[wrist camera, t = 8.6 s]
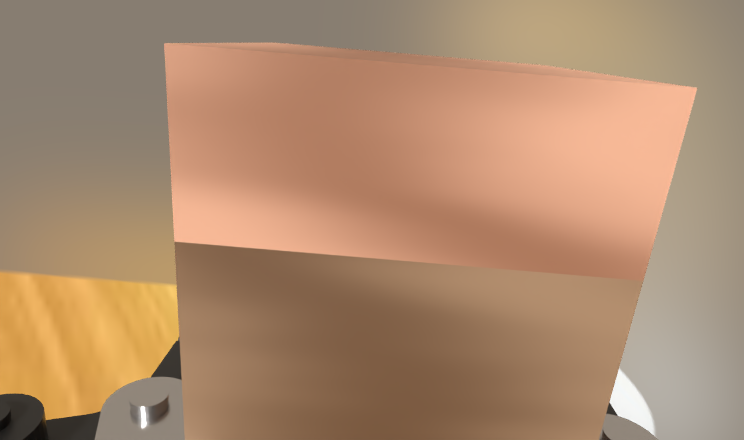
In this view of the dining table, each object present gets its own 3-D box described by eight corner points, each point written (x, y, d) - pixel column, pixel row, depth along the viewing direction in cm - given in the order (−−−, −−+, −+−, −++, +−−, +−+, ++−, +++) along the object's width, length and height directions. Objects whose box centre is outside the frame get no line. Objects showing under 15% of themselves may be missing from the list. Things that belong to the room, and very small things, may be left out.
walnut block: (456, 540, 13) (543, 65, 10) (494, 810, 9) (697, 88, 5) (267, 524, 13) (275, 42, 10) (202, 785, 9) (164, 42, 5)
